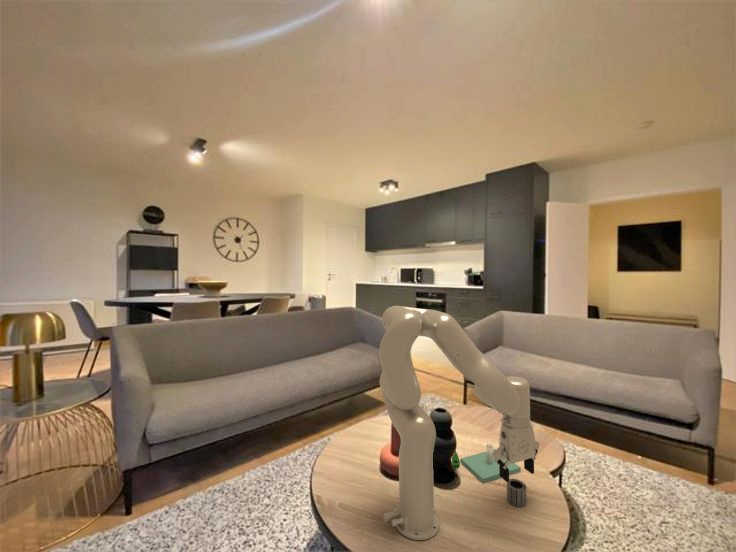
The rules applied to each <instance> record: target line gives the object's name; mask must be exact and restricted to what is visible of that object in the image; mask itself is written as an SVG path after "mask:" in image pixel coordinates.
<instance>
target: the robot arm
mask: <svg viewBox="0 0 736 552" xmlns="http://www.w3.org/2000/svg"><path fill="white" fill-rule="evenodd" d="M381 322H382V326H383V328H384V329H385V331H384V332H385V333H384V334H383V336H382V338H381V340H380V344H379V349H378V352H379V353H378V357H379V361H380V365H381V369H382V371H381V373H380V375H379V376H380V377H379V387H380V391H381V394H382V398H383V402H384V404H385V407H386V410H387V414H388V418H389V419H390V422H391V423H392V425H393V426H394V429H396V431H397V433H398V434H399V437H400V445H399V446H400V447H399V451H398V487H399V488H398V496H399V499H398V500H399V501H398V503H395V508H394V509H393V510H392V511H388V512H384V513H383V514H382V516H383V517H382V518H383V521H384V523H388V522H390V521H391V522H390V524H391V526H392V527H396V530H398V532H399V533H400V534H401V535H402V536H405V537H406V538H408V539H410V540H413V541H414V540H415V541H425V540H429V539H431V538H433V537H435V536H436V535H437V533H438V532H439V530H440V526H441V524H440V523H441V521H440V517H439V514H438V512H437V511H436V510H435V507H434V506H435V505H434V503H435V502H434V501H435V500H434V497H435V496H434V495H435V494H434V492H435V491H434V469H433V452H434V451H435V443H436V438H437V432H436V426H435V424H434V421H433V420H432V417H430V415H429V414H428V413H427V412H426V411H425V410H424V408H422V407H421V406H420V405H419V404H420V402H421V398H422V389H421V385H420V383H419V380H418V377H417V373H416V370H415V366H414V362H413V358H412V347H413V345H414V344H415V342H416V340H417V339H418V337H427V338H429V339H431V340H432V341H433V343H435V345H436V346H437V347H438V348H439V350H440V351H441V352H442V353H443V355H445V357H446V358H447V360H448V361H449V362H450V363H451V365H452V366H453V367H454V368H455V369H456V370H457V371H458V372H459V373H460V374H461V375H463V376H464V377H465V378H467V379H468V380H469V381H471V382H472V383H473V384H474V387H473V389H474V393H475V395H476V397H477V398H478V399H479V400H480V401H482V402H484V404H486V405H487V406H490V407H491V408H492V409H494V410H495V411H496V412H498V413H499V414H501V415H502V418H500V421H501V425H500V432H499V440H498V442H499V446H498V447H497V448H496V450H495V451H494V452H493V453H492V455H493V457H494V459H495V461H496V462H497V463H498V464H499V473H500V477H501V478H500V479H502V480H504V482H506V483H507V482H509V479H510V475H509V469H508V468H507V467H508V465H509V463H510V462H511V463H515V464H517V463H518V462H520V463H521V462H522V461H523V465H524V466H523V468H524V469H525V470H526V471H527V472H529V473H530V474H532V475H534V474H535V460H536V459H537V457H536V456H537V454H538V452H539V447H540V442H539V441H537V440H536V438H535V437H536V436H535V432H534V431H535V430H534V427H533V424H532V422H531V391H530V390H531V389H530V388H531V387H530V382H529V380H527V379H526V378H524V377H522V376H516V375H515V376H514V375H512V376H511V375H510V376H509V375H508V376H505V374H504V373H503V372H502V371H501V369H499V368H498V367H497V366H495V364H493V362H492V361H491V360H489V358H488V357H487V356H486V355H485V354H484V353H483V352H481V351H480V349H478V347H477V346H476V345H475V343H474V342H473V341H472V340H471V339H470V337H469V336H468V334H467V333H466V332H465V330H464V328H462V327H461V325H460V324H459V322H457V320H456V319H455V318H454V317H453V316H452V315H451V314H448V313H447V312H442V311H439V310H435V309H428V308H426V309H425V308H418V307H411V306H403V305H393V306H389V307H388V308H386V310H385V311H383V314H382V316H381ZM500 455H501V456H500ZM504 458H506V461H505V463H503V460H504Z"/></svg>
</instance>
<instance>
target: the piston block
mask: <svg viewBox="0 0 736 552" xmlns="http://www.w3.org/2000/svg"><path fill="white" fill-rule="evenodd" d="M493 448H494V447H493V444H492V443H491V442H488V443H487V444H486V451H484V452H480V453H476V454H472V455H469V456H464V457H462V458H459V461H460V462H461V463H462V464H461V463H460V464H461V465H462V466H464V467H465V468H466V469H467V470H468V471H469V472H470V473H471V474H472V475H473V474H474V475H473V476H475V477H476V479H478V480H479V481H480V482H481V483H482V484H485V483H489V482H492V481H495V480H498V479H502V478H501V477H500V473H499V464H498V463H497V462H496V461H495V459H494V457H493V455H492V453H493V452H494V451H495V450H497V448H496V449H495V448H494V449H493ZM500 456H501V455H500ZM505 461H506V458H504V460H503V463H505ZM507 468H508V469H509V476H511V475H512V476H513V475H514V474H518V473H521V472H522V471H521V470H522V469H521V467H520V466H519V465H518V464H517V463H511V462H510V463H509V465H508V467H507ZM520 471H521V472H520Z"/></svg>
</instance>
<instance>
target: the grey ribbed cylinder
mask: <svg viewBox="0 0 736 552" xmlns="http://www.w3.org/2000/svg"><path fill="white" fill-rule="evenodd" d="M527 498H528V497H527V485H526V483H525V482H523V481H522V480H520V479H517V478H509V482H506V501H507V502H508V503H509V504H510V505H511V506H513V507H517V508H524V507H526V506H527V501H528V500H527Z"/></svg>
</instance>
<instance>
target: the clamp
mask: <svg viewBox="0 0 736 552" xmlns="http://www.w3.org/2000/svg"><path fill="white" fill-rule="evenodd" d="M454 451H455V454H454V455H453V457H452V470H453V469H459V468H460V467H461V463H460V458H459V455H458V452H457V451H456V450H454Z"/></svg>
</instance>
